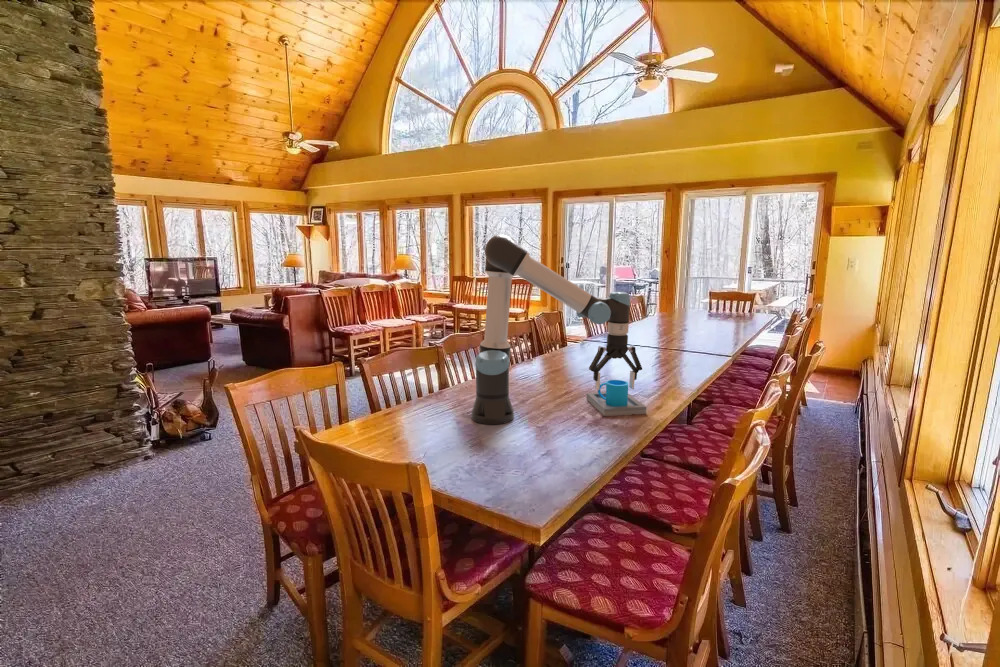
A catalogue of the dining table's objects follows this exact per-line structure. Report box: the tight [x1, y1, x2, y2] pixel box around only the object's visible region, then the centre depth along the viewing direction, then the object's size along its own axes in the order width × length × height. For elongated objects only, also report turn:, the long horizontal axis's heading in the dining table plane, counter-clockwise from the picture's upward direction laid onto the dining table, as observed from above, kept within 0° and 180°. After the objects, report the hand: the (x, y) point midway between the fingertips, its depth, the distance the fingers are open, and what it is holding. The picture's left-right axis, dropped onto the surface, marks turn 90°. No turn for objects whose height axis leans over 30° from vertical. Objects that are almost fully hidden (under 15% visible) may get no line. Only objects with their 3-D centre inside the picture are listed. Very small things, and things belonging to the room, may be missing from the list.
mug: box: [597, 379, 629, 407], centre depth 189 cm, size 12×8×8 cm
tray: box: [586, 391, 647, 417], centre depth 189 cm, size 16×20×3 cm
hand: (614, 388), depth 188 cm, fingers open, 13 cm apart
